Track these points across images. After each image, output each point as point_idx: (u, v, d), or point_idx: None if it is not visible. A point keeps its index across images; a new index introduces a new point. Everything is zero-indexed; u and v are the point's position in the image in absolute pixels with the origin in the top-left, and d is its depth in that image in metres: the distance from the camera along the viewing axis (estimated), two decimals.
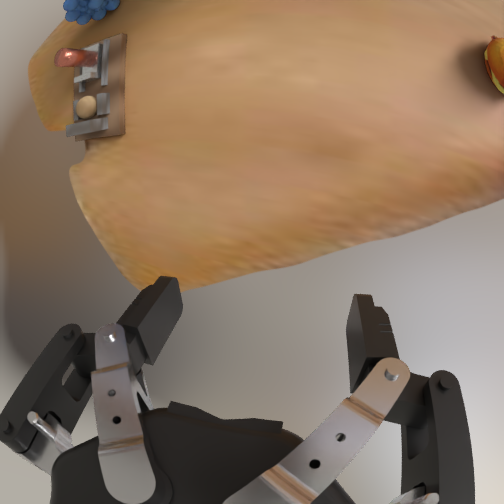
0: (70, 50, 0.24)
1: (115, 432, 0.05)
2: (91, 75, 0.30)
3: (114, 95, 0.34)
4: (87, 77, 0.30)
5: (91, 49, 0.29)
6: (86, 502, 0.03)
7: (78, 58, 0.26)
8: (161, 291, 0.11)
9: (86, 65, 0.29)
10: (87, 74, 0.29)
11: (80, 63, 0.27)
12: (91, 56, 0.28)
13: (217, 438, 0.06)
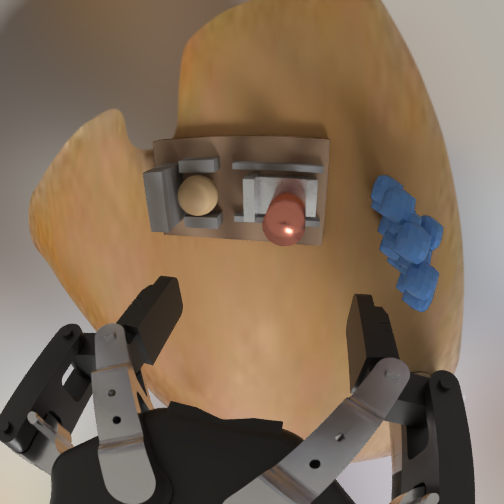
0: None
1: (115, 432, 0.05)
2: (247, 220, 0.25)
3: (217, 230, 0.30)
4: (245, 214, 0.25)
5: (308, 200, 0.25)
6: (86, 502, 0.03)
7: None
8: (161, 291, 0.11)
9: None
10: (251, 214, 0.25)
11: None
12: None
13: (217, 438, 0.06)
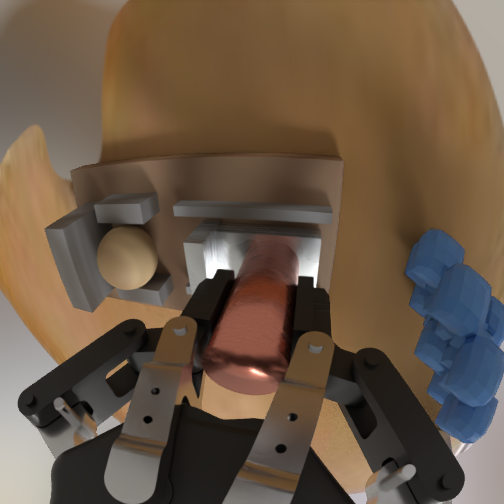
0: None
1: (140, 431, 0.05)
2: None
3: (168, 298, 0.19)
4: None
5: (304, 271, 0.14)
6: (74, 502, 0.03)
7: None
8: (224, 283, 0.11)
9: None
10: None
11: None
12: None
13: (217, 438, 0.06)
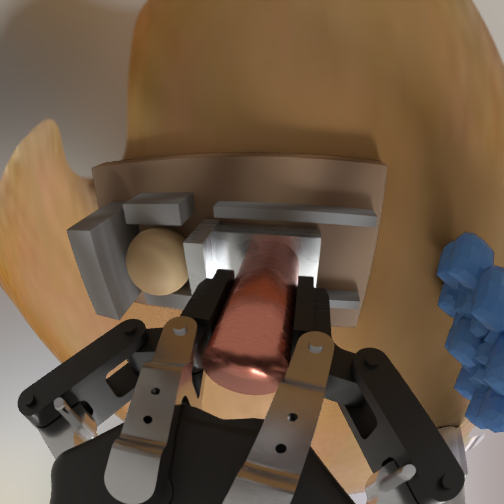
0: None
1: (140, 431, 0.05)
2: None
3: None
4: None
5: (304, 271, 0.14)
6: (74, 502, 0.03)
7: None
8: (224, 283, 0.11)
9: None
10: None
11: None
12: None
13: (217, 438, 0.06)
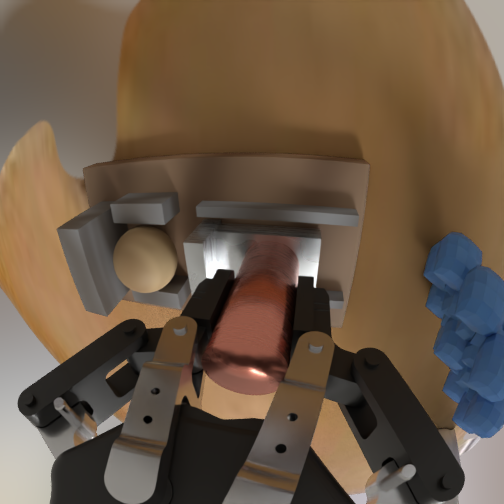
0: None
1: (140, 430, 0.05)
2: None
3: (185, 301, 0.19)
4: None
5: (304, 271, 0.14)
6: (74, 502, 0.03)
7: None
8: (224, 283, 0.11)
9: None
10: None
11: None
12: None
13: (217, 438, 0.06)
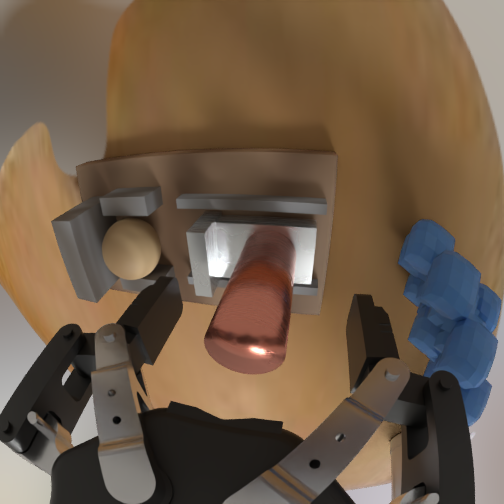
0: None
1: (114, 432, 0.05)
2: (201, 292, 0.16)
3: None
4: (197, 285, 0.15)
5: (300, 260, 0.15)
6: (86, 502, 0.03)
7: None
8: (161, 291, 0.11)
9: None
10: (206, 286, 0.15)
11: None
12: None
13: (217, 438, 0.06)
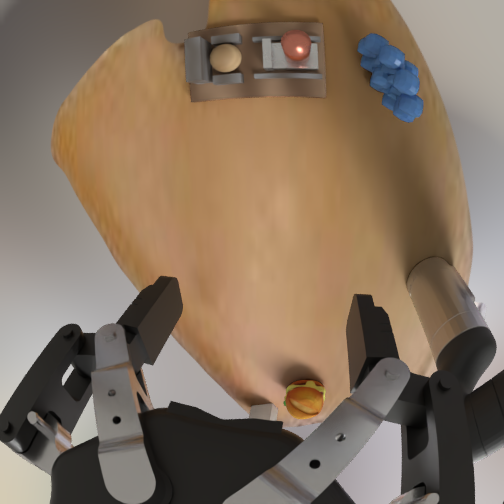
0: (304, 55, 0.22)
1: (115, 432, 0.05)
2: (266, 68, 0.27)
3: (239, 90, 0.31)
4: (264, 62, 0.26)
5: (311, 57, 0.26)
6: (86, 502, 0.03)
7: (292, 58, 0.24)
8: (161, 291, 0.11)
9: None
10: (269, 62, 0.26)
11: (286, 56, 0.24)
12: (296, 64, 0.26)
13: (217, 438, 0.06)
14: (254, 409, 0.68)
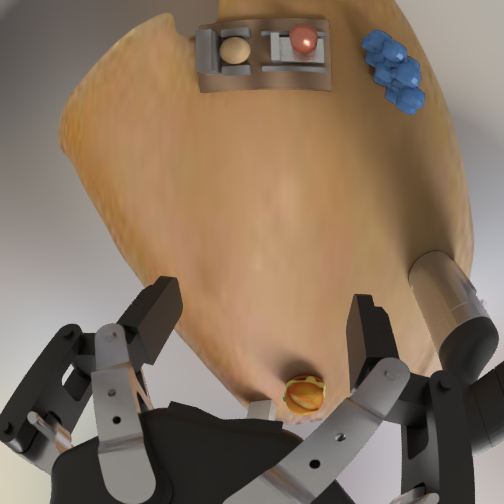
0: (311, 47, 0.22)
1: (115, 432, 0.05)
2: (273, 60, 0.27)
3: (247, 82, 0.32)
4: (272, 55, 0.27)
5: (318, 51, 0.27)
6: (86, 502, 0.03)
7: (299, 51, 0.24)
8: (161, 291, 0.11)
9: (292, 50, 0.26)
10: (277, 54, 0.27)
11: (293, 49, 0.25)
12: (303, 57, 0.27)
13: (217, 438, 0.06)
14: (253, 405, 0.68)
